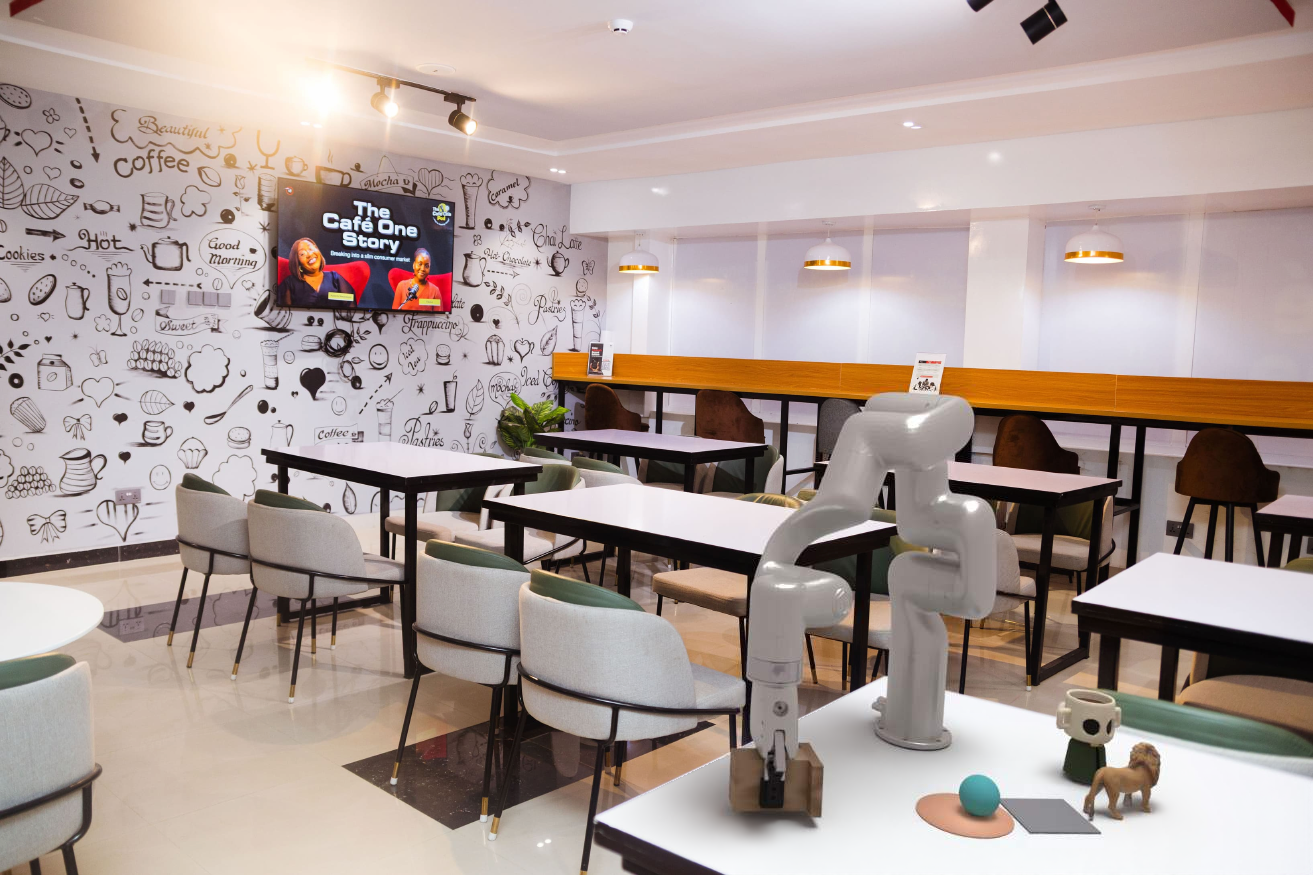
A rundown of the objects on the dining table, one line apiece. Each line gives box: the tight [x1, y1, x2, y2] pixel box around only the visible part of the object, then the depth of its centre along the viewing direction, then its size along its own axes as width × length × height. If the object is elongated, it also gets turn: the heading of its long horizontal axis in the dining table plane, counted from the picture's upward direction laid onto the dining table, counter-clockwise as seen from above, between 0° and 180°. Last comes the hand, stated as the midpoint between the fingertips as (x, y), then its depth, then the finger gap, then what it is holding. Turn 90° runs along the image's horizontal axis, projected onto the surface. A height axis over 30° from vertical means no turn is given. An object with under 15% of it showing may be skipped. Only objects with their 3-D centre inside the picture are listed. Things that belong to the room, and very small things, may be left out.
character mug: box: [1055, 688, 1122, 785], centre depth 143 cm, size 11×7×13 cm, turn 100°
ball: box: [958, 774, 1001, 817], centre depth 129 cm, size 6×6×6 cm
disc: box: [915, 792, 1015, 839], centre depth 128 cm, size 13×13×1 cm
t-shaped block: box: [728, 742, 825, 819], centre depth 126 cm, size 12×8×7 cm
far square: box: [1000, 797, 1102, 835], centre depth 129 cm, size 10×10×1 cm
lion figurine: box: [1083, 741, 1161, 821], centre depth 132 cm, size 15×5×9 cm, turn 122°
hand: (767, 797), depth 126 cm, fingers closed on t-shaped block, 4 cm apart
